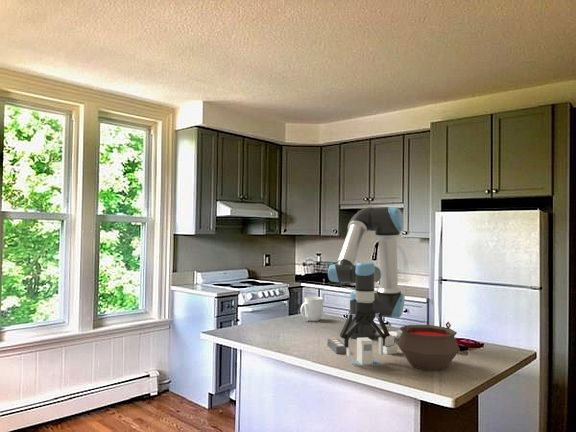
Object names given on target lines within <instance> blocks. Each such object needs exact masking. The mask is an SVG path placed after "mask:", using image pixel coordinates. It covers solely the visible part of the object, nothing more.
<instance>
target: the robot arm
mask: <svg viewBox="0 0 576 432" xmlns="http://www.w3.org/2000/svg"><path fill="white" fill-rule="evenodd" d="M403 230H404V220H403V215H402V211H401V209H400V208H398V207H396V206H394V207H393V206H380V207H379V206H377V207H376V206H375V207H372V206H370V207H369V206H368V207H364V208H361V210H359V211H357V212H356V213H355V214H354V215H353V216H352V217H351V219H350V220H349V221H348V225H347V233H346V236H345V239H344V242H343V244H342V248H341V250H340V253H339V256H338V258H337V261H336V263H334V264H330V265H329V266H328V270H327V277H328V280H329V281H330V282H333V283H334V282H335V283H349V284H350V283H352V284H355V290H352V291H351V292H350V295H349V313H347V317H346V321H345V323H344V325H343V327H342V329H341V332H340V333H339V337H340V338H341V339H344V341H343V343H344V346H345V347H346V348H347V353H346V356H347V357H351V355H352V353H351V351H352V350H351V343H352V342H351V341H352V340H351V339H354V340H355V339H356V340H357V338H365V337H368V338H369V339H371V340H373V339H376V338H377V336H378V335H379V337H378V354H379V355H380V356H383V355H384V353H383V346H385V339H386V337H387V336H390V334H391V333H389V330H388V328H387V326H386V324H385V322H384V319H383V318H390V319H392V318H393V319H396V318H397V319H399V318H401V316H402V315H403V312H404V307H405V300H406V299H405V294H404V293H402V289H401V288H400V287H399V285H398V244H397V240H398V237H399V236H400V235H401V232H403ZM368 232H375V233H374V235H375V236H376V238H378V262H379V264H378V266H379V267H378V266H376V265H375V264H374V263H373V262H365V261H364V262H361V261H360V262H356V260H357V256H358V253H359V251H360V247H361V245H362V244H361V243H362V241H363V238H364V236H365V235H366V234H367V233H368ZM376 283H379V286H378V288H377V289H376V292H375V284H376ZM375 318H376V319H377V321H378V323H379V325H380V327H381V329H380V327H379V326H378V325H377V323H376V322H375V321H374V320H375ZM381 330H383V332H384V334H383V332H382V331H381Z"/></svg>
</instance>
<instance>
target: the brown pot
mask: <svg viewBox="0 0 576 432" xmlns="http://www.w3.org/2000/svg"><path fill="white" fill-rule="evenodd" d="M451 327H452V325H451V322H450V321H447V322H446V323H445V326H439V325H433V324H406V325H405V326H402V327H399V330H400V331H401V334H400V336H399V338H398V341H397V342H396V346H397V347H399V350H400V351H401V352H402V354H403V356H404V357H405V359H406V360H407V362H408V363H409V364H410V366H412V368H416V369H421V370H426V371H441V370H444V369H446V368H448V366H449V365H450V364H451V362H452V361H453V360H454V359H455V357H456V356H457V355H458V353H460V351H461V349H460V347H459V345H458V344H459V343H458V342H457V339H456V337H455V336H456V335H457V334H458V332H457V331H455V330H453V329H452V328H451Z"/></svg>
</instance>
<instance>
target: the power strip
mask: <svg viewBox="0 0 576 432" xmlns="http://www.w3.org/2000/svg"><path fill="white" fill-rule="evenodd" d="M326 343H327V347H328V348H329V349H331V351H333V352H334V353H335V354H336V355H338V354H339V355H341V354H342V355H343V354H347V348H346V347H345V346H344V341H341V340H340V339H339V338H336V337H331V338H327V342H326Z"/></svg>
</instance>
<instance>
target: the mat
mask: <svg viewBox="0 0 576 432" xmlns="http://www.w3.org/2000/svg"><path fill="white" fill-rule="evenodd" d="M346 361H347V362H348V363H350V364H351V366H353V367H369V366H384V364H383V362H381V361H379V360H378V359H377V358H374V357H373V364H363V365H362V364H361V363H360V362H358V361H357V358H353V359H351V358H350V359H346Z"/></svg>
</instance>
